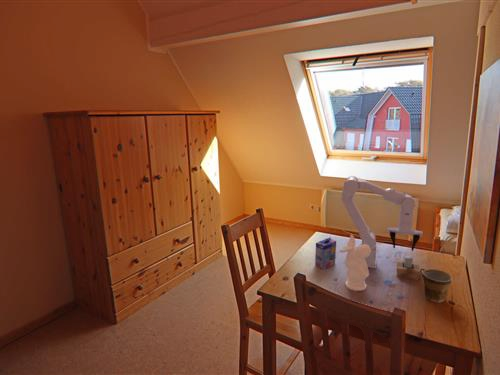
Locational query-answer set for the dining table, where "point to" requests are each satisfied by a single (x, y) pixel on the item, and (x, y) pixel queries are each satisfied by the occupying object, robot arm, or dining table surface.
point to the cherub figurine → (356, 265)
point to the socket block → (408, 270)
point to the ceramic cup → (436, 284)
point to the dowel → (408, 262)
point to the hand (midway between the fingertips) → (403, 248)
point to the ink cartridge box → (325, 253)
